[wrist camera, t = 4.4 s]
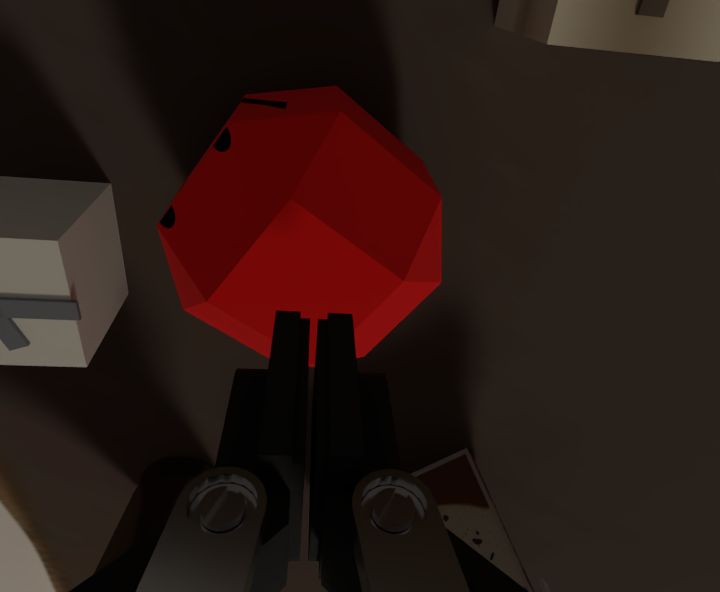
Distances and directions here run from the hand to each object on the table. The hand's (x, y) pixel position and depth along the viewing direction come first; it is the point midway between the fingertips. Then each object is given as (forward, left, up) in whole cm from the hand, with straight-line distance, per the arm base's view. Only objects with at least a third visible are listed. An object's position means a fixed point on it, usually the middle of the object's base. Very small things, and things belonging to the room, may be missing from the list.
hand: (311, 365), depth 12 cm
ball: (0, 0, -11) cm, 11 cm away
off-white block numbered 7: (+10, -3, -11) cm, 15 cm away
